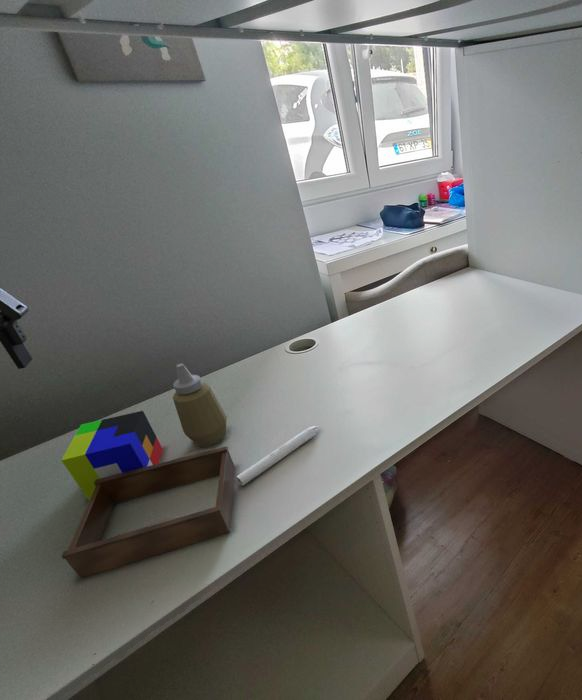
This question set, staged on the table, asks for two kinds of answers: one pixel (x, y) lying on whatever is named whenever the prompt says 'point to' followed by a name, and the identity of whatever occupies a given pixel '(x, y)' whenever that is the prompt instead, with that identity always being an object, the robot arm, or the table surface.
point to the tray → (136, 545)
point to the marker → (276, 455)
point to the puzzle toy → (111, 449)
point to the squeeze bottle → (198, 409)
